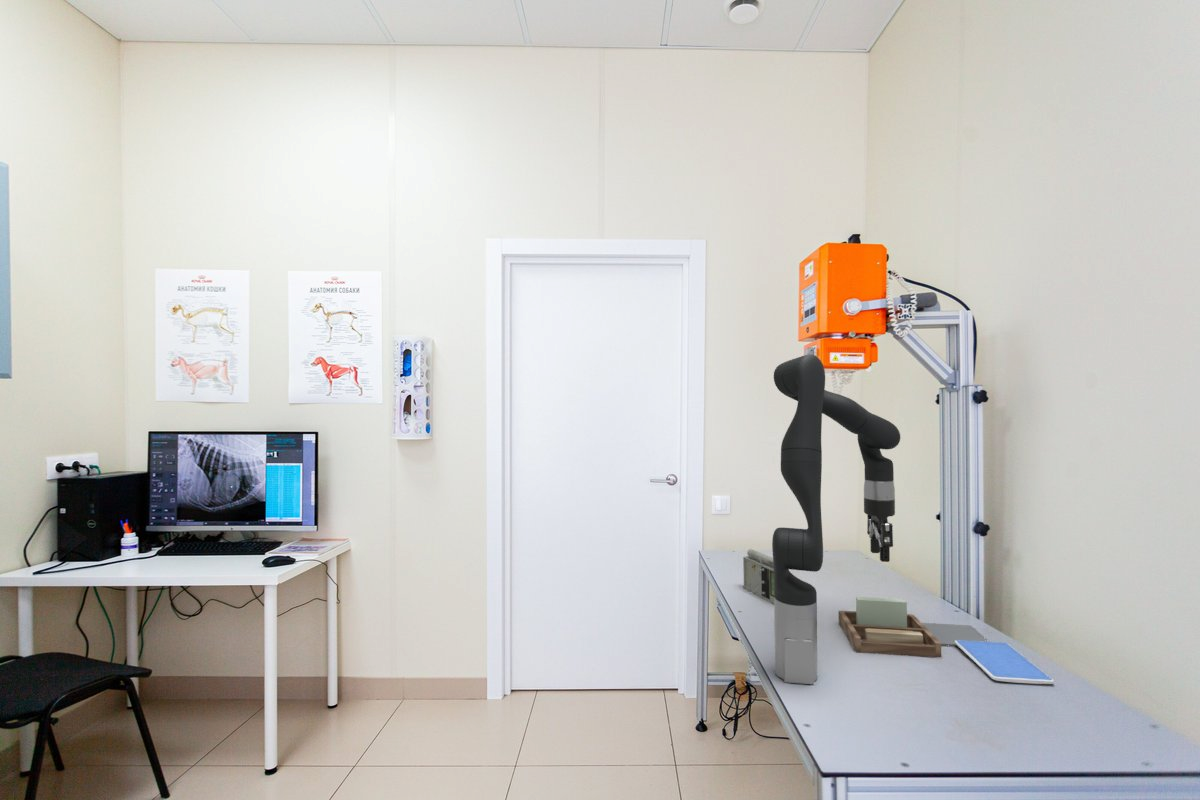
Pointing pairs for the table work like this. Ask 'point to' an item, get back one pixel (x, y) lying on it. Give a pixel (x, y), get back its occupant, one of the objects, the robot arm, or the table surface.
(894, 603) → the tall block
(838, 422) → the robot arm
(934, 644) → the storage rack
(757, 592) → the geiger counter
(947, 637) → the mat
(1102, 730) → the table surface
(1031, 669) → the tablet computer
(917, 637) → the offcut stack
